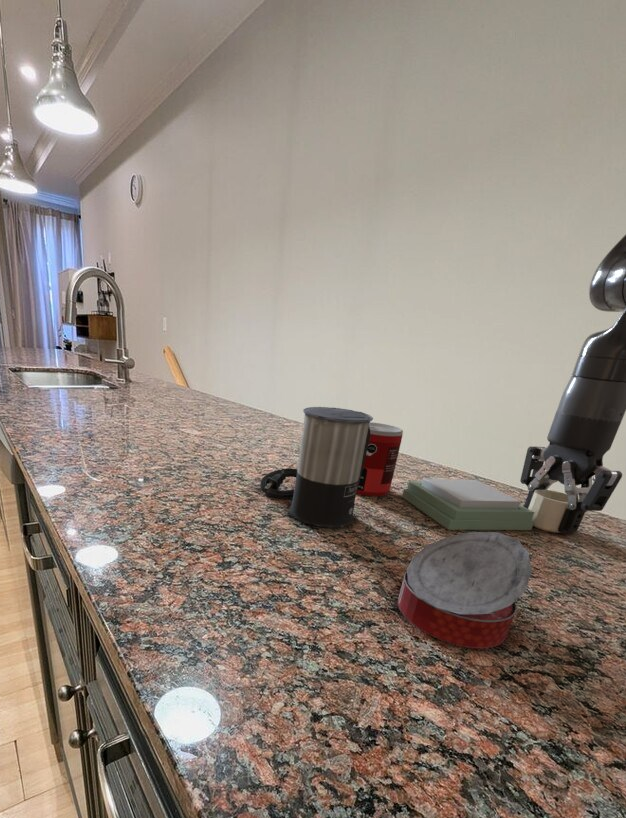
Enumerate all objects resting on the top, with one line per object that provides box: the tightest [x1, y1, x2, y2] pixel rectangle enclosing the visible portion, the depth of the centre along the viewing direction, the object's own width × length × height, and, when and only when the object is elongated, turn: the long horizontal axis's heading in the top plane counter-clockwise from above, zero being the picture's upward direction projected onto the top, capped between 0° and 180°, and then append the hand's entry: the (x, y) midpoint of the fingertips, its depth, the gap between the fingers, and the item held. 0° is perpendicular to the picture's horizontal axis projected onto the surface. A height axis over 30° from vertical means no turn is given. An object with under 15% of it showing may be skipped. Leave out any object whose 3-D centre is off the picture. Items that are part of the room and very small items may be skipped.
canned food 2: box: [397, 531, 533, 649], centre depth 42 cm, size 11×10×10 cm
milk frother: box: [259, 406, 374, 529], centre depth 64 cm, size 14×16×15 cm
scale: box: [401, 480, 534, 531], centre depth 70 cm, size 14×13×3 cm
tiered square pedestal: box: [421, 477, 521, 509], centre depth 69 cm, size 10×10×2 cm
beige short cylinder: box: [528, 489, 569, 534], centre depth 67 cm, size 6×6×5 cm
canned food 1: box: [356, 421, 404, 497], centre depth 75 cm, size 8×8×11 cm
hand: (546, 522), depth 68 cm, fingers closed on beige short cylinder, 6 cm apart
